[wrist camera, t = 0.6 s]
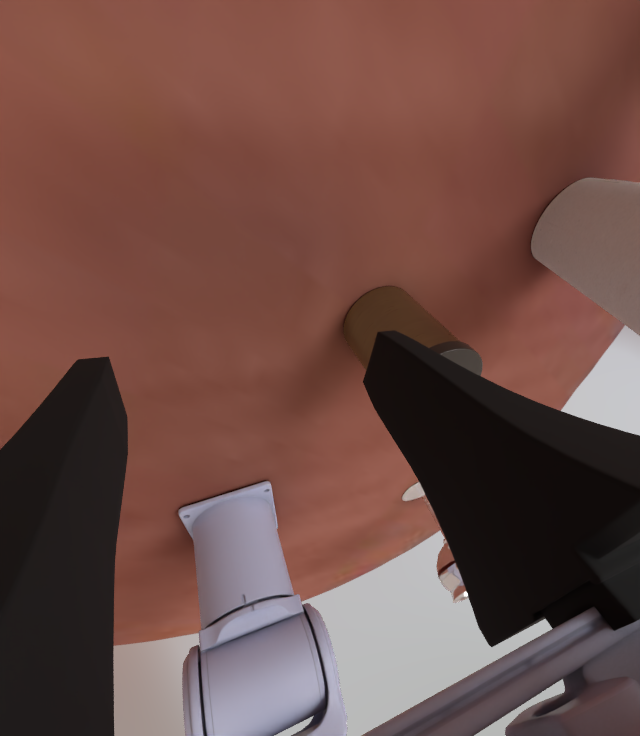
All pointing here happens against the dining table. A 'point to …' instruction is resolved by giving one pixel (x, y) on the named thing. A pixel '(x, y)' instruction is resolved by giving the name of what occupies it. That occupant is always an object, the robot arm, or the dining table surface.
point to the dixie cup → (595, 243)
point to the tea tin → (402, 327)
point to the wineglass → (442, 553)
